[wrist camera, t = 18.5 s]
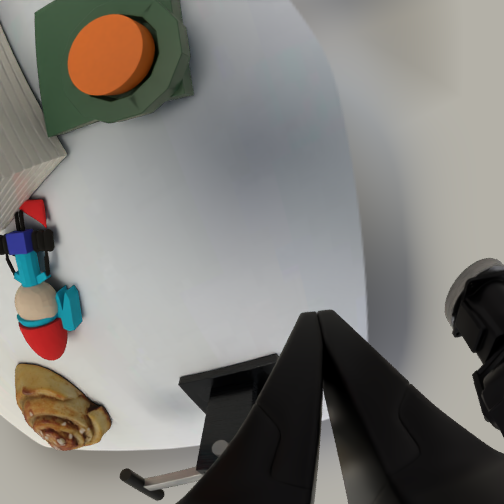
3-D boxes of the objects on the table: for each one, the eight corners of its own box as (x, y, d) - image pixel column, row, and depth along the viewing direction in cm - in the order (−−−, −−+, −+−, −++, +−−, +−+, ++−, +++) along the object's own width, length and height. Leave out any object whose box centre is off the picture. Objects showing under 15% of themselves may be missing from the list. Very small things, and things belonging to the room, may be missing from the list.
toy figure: (7, 202, 22) (41, 342, 27) (-26, 211, 18) (18, 367, 22) (65, 191, 22) (97, 347, 27) (31, 199, 18) (77, 377, 22)
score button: (150, 10, 12) (137, 1, 10) (160, 82, 14) (148, 80, 12) (81, 37, 12) (64, 33, 11) (90, 105, 14) (73, 106, 13)
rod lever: (153, 486, 23) (153, 505, 21) (120, 465, 22) (118, 485, 19) (261, 457, 23) (267, 477, 21) (236, 432, 21) (241, 456, 19)
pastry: (124, 434, 35) (108, 479, 28) (48, 415, 37) (30, 451, 30) (83, 372, 30) (54, 425, 22) (6, 356, 31) (-22, 395, 24)
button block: (184, -38, 13) (167, -63, 9) (206, 102, 17) (190, 102, 14) (51, 16, 14) (18, 9, 10) (67, 141, 19) (33, 152, 15)
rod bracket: (219, 419, 31) (207, 496, 22) (179, 377, 28) (155, 462, 19) (305, 401, 29) (310, 486, 20) (276, 353, 26) (276, 453, 17)
